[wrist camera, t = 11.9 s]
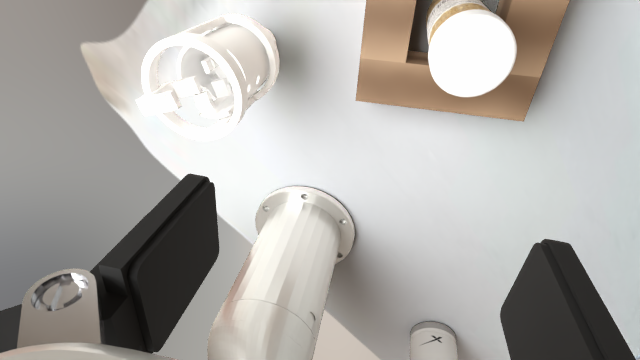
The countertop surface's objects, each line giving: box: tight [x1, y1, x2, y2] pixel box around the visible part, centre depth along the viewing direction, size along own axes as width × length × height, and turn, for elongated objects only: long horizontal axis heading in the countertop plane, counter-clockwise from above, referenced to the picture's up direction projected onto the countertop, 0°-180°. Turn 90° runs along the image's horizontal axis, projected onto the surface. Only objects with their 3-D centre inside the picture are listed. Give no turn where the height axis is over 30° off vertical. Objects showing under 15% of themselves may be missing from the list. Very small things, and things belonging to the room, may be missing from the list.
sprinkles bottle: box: [426, 0, 517, 97], centre depth 26 cm, size 5×5×13 cm
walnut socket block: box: [356, 0, 570, 121], centre depth 30 cm, size 14×14×4 cm
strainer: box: [136, 14, 280, 141], centre depth 30 cm, size 7×7×15 cm
